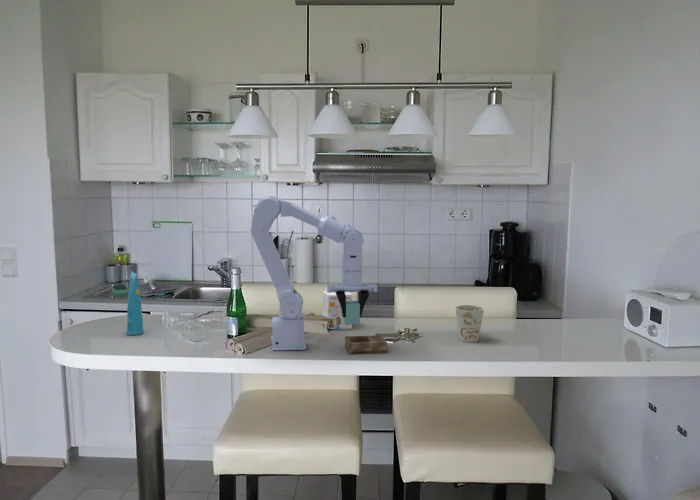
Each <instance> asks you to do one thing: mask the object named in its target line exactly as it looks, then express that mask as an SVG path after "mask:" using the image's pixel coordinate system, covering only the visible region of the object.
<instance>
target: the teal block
mask: <svg viewBox="0 0 700 500" xmlns="http://www.w3.org/2000/svg"><path fill="white" fill-rule="evenodd" d="M360 319H361V317H360V303H359V302H358V300H352V301H346V317H344V322H345V324H352V325H360V323H361V321H360Z"/></svg>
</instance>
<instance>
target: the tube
mask: <svg viewBox="0 0 700 500" xmlns="http://www.w3.org/2000/svg"><path fill="white" fill-rule="evenodd" d="M137 275H138V274H137V273H135V272H133V271H130V276H129V284H128V292H127V293H128V295H127V307H126V308H127V309H126V310H127V312H126V313H127V314H126V335H128V336H129V335H130V336H137V335H142V334H143V333H144V322H143V319H144V318H143V309H142V302H141V300H142V299H141V298H142V297H141V291H140V287H139V282H138V281H139V280H138V278H137Z"/></svg>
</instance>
